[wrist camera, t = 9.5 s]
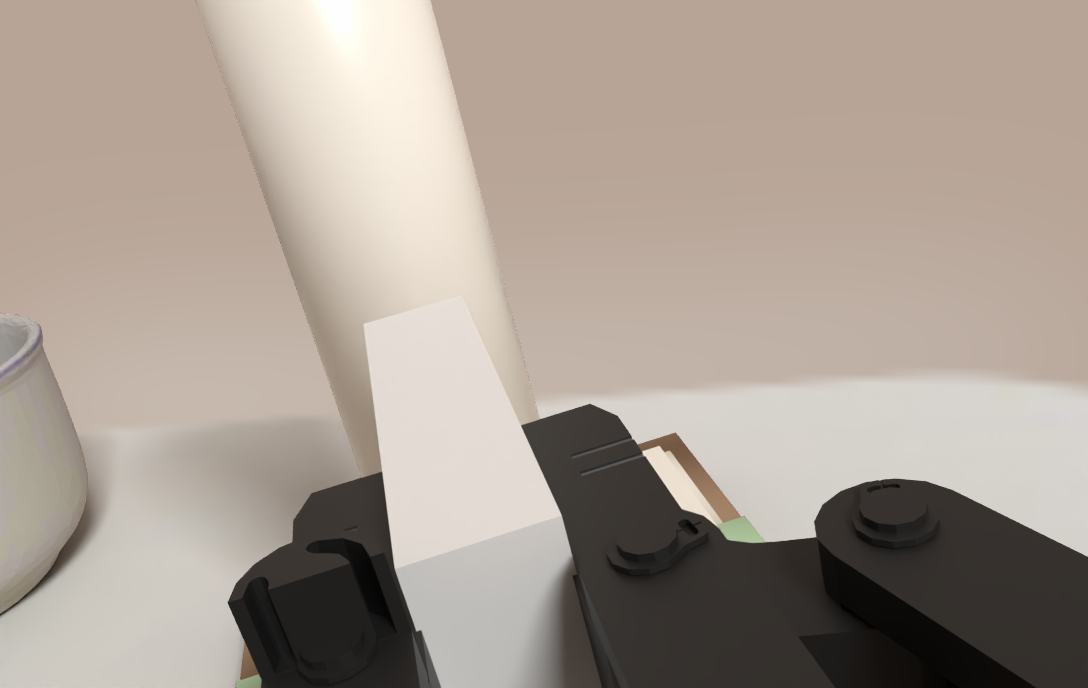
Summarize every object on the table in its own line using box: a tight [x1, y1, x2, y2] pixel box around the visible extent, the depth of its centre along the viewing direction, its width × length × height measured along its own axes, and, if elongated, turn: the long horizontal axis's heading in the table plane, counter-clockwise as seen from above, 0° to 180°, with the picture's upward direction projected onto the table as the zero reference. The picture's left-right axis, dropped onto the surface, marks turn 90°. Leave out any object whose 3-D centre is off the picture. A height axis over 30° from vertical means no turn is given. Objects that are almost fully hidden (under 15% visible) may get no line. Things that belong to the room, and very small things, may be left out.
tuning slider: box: [196, 0, 719, 528], centre depth 17 cm, size 4×9×18 cm, turn 102°
